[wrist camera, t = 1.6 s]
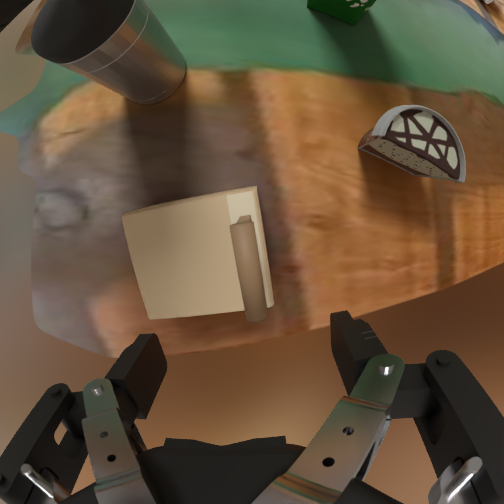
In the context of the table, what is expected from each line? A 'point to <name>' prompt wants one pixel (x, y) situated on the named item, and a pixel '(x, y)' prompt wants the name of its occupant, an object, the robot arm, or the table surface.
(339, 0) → the milk carton
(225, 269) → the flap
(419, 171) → the food container
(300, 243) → the table surface
